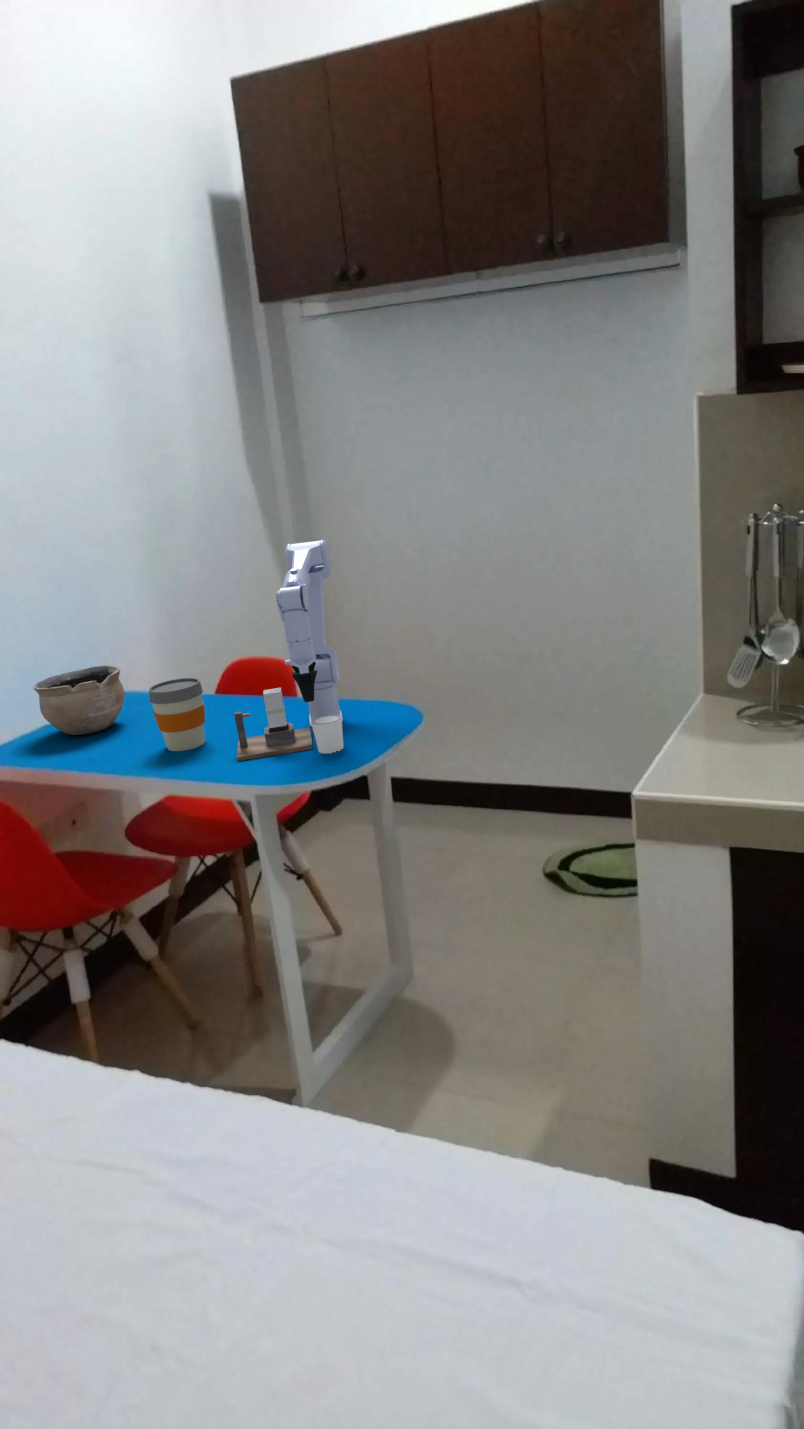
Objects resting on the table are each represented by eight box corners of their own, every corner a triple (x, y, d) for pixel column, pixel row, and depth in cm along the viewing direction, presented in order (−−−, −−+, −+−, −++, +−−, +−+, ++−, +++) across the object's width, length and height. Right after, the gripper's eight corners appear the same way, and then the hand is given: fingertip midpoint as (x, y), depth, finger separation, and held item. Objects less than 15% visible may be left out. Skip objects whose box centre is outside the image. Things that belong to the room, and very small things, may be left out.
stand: (239, 743, 256) (232, 706, 254) (310, 731, 257) (304, 694, 255) (237, 761, 243) (230, 722, 240) (312, 748, 244) (306, 709, 241)
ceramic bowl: (65, 749, 272) (52, 691, 268) (33, 736, 289) (20, 682, 285) (145, 724, 285) (133, 668, 281) (110, 712, 302) (98, 660, 297)
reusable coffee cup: (161, 757, 254) (148, 696, 250) (158, 743, 265) (146, 684, 261) (215, 746, 256) (203, 685, 252) (209, 732, 268) (198, 674, 264)
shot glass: (312, 749, 244) (307, 719, 242) (340, 742, 246) (336, 712, 244) (320, 756, 238) (315, 726, 236) (350, 749, 240) (345, 719, 238)
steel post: (269, 723, 251) (263, 690, 248) (286, 720, 251) (281, 687, 249) (269, 728, 247) (262, 694, 244) (287, 725, 247) (281, 691, 245)
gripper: (281, 636, 251) (291, 692, 254) (281, 648, 237) (291, 708, 240) (311, 631, 251) (320, 687, 255) (313, 643, 237) (323, 702, 241)
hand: (308, 697), depth 248 cm, fingers open, 7 cm apart
